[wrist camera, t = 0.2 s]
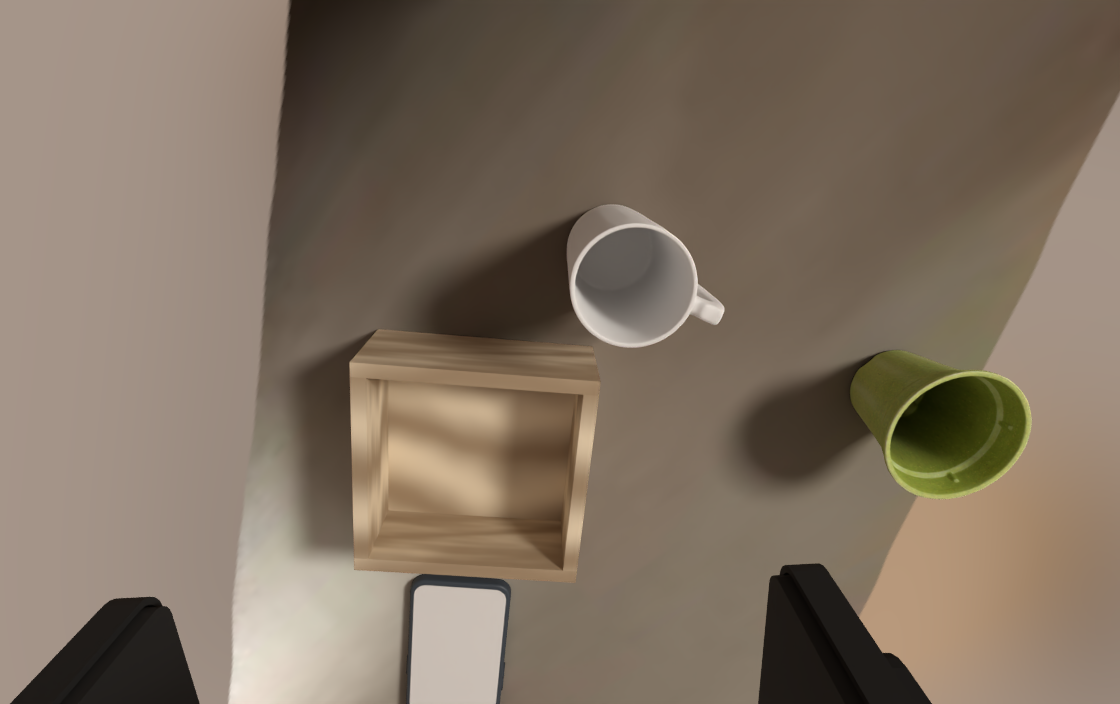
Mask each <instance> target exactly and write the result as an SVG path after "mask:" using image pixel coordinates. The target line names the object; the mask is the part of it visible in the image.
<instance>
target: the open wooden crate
mask: <svg viewBox="0 0 1120 704" xmlns="http://www.w3.org/2000/svg"><path fill="white" fill-rule="evenodd" d="M600 383H601V381H600V377H599V373H598V369H597V364H596V360H595V356H594V352H593V348H592V346H580V345H568V344H556V343H543V342H531V341H519V340H506V339H494V338H481V337H469V336H457V335H444V334H432V333H420V332H407V331H395V330H382V329H378V330H377V331H376V332H375V333H374V334H373V336H372V337H371V338H370V339H369V340H368V341H367V343H366V344H365V345H364V346H363V347H362V348H361V350H360V351H359V352H358V353H357V354H356V355H355V357H354V358H353V359H352V360H351V361H350V404H351V447H352V490H353V533H354V570H367V571H384V572H401V573H418V574H436V575H453V576H470V577H487V578H504V579H521V580H538V581H556V582H573V583H575V581H576V573H577V565H578V557H579V549H580V541H581V533H582V525H583V517H584V509H585V502H586V494H587V486H588V478H589V470H590V462H591V454H592V446H593V438H594V430H595V422H596V414H597V406H598V398H599V391H600Z"/></svg>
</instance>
